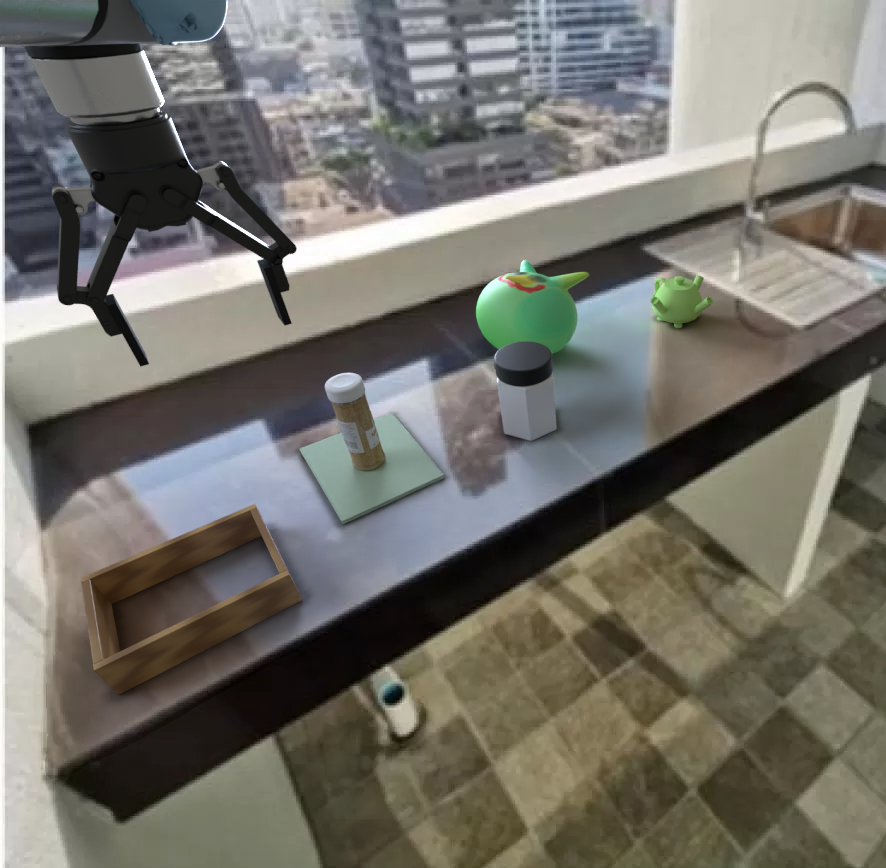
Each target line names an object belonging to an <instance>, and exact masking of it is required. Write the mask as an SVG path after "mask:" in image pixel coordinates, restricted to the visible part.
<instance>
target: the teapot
mask: <svg viewBox="0 0 886 868" xmlns="http://www.w3.org/2000/svg"><path fill="white" fill-rule="evenodd" d="M704 279H705V278H704V277H703V276H701V275H699V274H696V276H695V278H694V280H693V281H692V280H691V279H689V278H686V277H685V276H682V275H677V276H674V277H671V278H668V279H666V278H665V277H658V278H656V279H655V281H654V284H653V285H654V293H653V294H652V295H651V296H652V298H651V299H650V303H651V307H652V311H653V313H654V314H655V315H656V316H657V317H656V320H658V321H660V322H663V321H664V322H667V323H671V324H673V327H674V328H676V329H680V328H683V325H684V324H686V323H687V324H688V323H690V322H692V321H695V320H696V319H697V318H698V317H699V316H700V315H701V314H702V312H703V311H704V310H706V309H708V308H709V307H710V306H712V305H713V304H714V299H713V298H712V297H710V296H707V297H705V298H704V299H703V298H702V295H701V293H700V289H701V286H702V285H703V281H704ZM660 282H661V283H662V284H661V285H660Z"/></svg>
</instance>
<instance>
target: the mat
mask: <svg viewBox="0 0 886 868" xmlns="http://www.w3.org/2000/svg"><path fill="white" fill-rule="evenodd" d="M373 420H374V423H375V426H376V429H377V432H378V435H379V438H380V443H381V446H382V449H383V451H384V453H385V460H384V462H383V463H382V464H381V465H380V466H379V467H377V468H375V469H372V470H367V471H363V470H358V469H356V468H355V467H354V466H353V464H352V458H351V455H350V453H349V450H348V448H347V446H346V443H345V441H344V438H343V435H342V433H341V432H338V433H336V434H333V435H331V436H328V437H326V438H323V439H321V440H320V439H319V440H318V441H315V442H313V443H310V444H308V445H305V446H302V447H300V448H299V451H300V454H301V456H302V457H303V459H304V460H305V462H306V464H307V465H308V467H309V469H310V470H311V473H312V475H313V476H314V477H315V479H316V481H317V483H318V484H319V486H320V488H321V490H322V491H323V493H324V495H325V496H326V498H327V500H328V502H329V504H330V505H331V507H332V508H333V510H334V513H336V516H337V517H338V518H339V520H340V522H341V524H342V525H345V524H347V523H349V522H352V521H354V520H356V519H358V518H361V517H363V516H365V515H367V514H369V513H371V512H373V511H376V510H378V509H380V508H382V507H384V506H386V505H389V504H391V503H394V502H395V501H398V500H400V499H402V498H404V497H406V496H408V495H411V494H412V493H415V492H417V491H420V490H422V489H424V488H425V487H428V486H431V485H432V484H435V483H436V482H439V481H441V480H443V479H445V474H444V473H443V472H442V471H441V469H440V468H439V467H438V466H437V465H436V463H435V462H434V461H433V460H432V458H431V457H430V456H429V455H428V454H427V453H426V451H425V449H423V448H422V447H421V446H420V444H419V443H418V442H417V441H416V439H415V438H414V437H413V436H412V435H411V434H410V431H408V429H407V428H406V427H405V426H404V425H403V424H402V423H401V421H400V420H399V419H398V418H397V417H396V415H395V414H394V413H393V412H390V413H388V414H385V415H383V416H380V417H377V418H375V419H373Z"/></svg>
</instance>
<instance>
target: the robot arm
mask: <svg viewBox="0 0 886 868" xmlns="http://www.w3.org/2000/svg"><path fill="white" fill-rule="evenodd" d="M227 12H228V0H0V48H15V47H17V48H19V47H24V49H25V52H26V53H27V55H28V57H29V60H30V61H31V63H32V65H33V67H34V69H35V71H36V73H37V75H38V77H39V79H40V81H41V84H42V85H43V87H44V89H45V91H46V93H47V95H48V97H49V99H50V100H51V103H52V105H53V107H54V109H55V111H56V112H57V113H58V114H59V115H61V116H63V117H67V118H69V119H70V120H68V121H67V122H66V126H65V131H66V132H67V134H68V136H69V138H70V141H71V142H72V145H73V146H74V149H75V150H76V152H77V154H78V156H79V159H80V160H81V162H82V164H83V166H84V168H85V170H86V172H87V174H88V176H89V180H90V185H89V186H83V187H67V186H66V185H62V184H55V185H53V186H52V187H51V196H52V200H53V203H54V205H55V208H56V210H57V212H58V215H59V230H58V231H59V232H58V255H57V275H56V276H57V278H56V293H57V298H58V299H57V300H58V302H59V303H60V304H61V305H63V306H73V305H84V306H87V307H89V308H90V309H91V310H92V312H93V314H94V315H95V317H96V319H97V321H98V322H99V323H100V325H101V328H102V330H103V331H104V333H105V334H106V335H108V336H109V337H115V336H120V335H122V336H123V339H124V340H125V343H127V345H128V347H129V349H130V351H131V353H132V355H133V357H134V358H135V360H136V361H137V363H138V365H139V367H140V368H141V367H144V366H148V365H150V362H149V360H148V357H147V354H146V352H145V349H144V348H143V346H142V344H141V343H140V340H139V339H138V337H137V335H136V333H135V331H134V330H133V327H132V326H131V324H130V322H129V320H128V318H127V316H126V315H125V313H124V311H123V309H122V307H121V305H120V304H119V302H118V299H117V298H116V297H115V295H114V293H110V294H108V293H109V291H110V288H111V286H112V284H113V282H114V279H115V277H116V273H117V271H118V270H119V267H120V265H121V262H122V260H123V257H124V255H125V253H126V250H127V248H128V246H129V243H130V242H131V241H132V239H133V237H134V235H135V232H136V230H137V229H139V230H142V231H148V233H151V232H155V231H160V230H162V229H164V228H165V227H181V226H182V227H183V226H186V225H188V223H189V222H190V221H191V220H192V219H193V218H195V219H196V220H198V221H199V222H200V223H203V224H205V225H206V226H208V227H210V228H212V229H214V230H215V231H217V232H219V233H221V234H222V235H224V236H225V237H227V238H229V240H232V241H234V242H235V243H236V244H238V245H240V246H242V247H244V248H245V249H247V250H249V252H252V253H253V254H255V255H257V256H258V257H260V258H261V259H257V260H256V262H257V264H258V267H259V271H260V273H261V275H262V278H263V280H264V284H265V286H266V288H267V291H268V294H269V297H270V299H271V301H272V305H273V308H274V310H275V313H276V316H277V318H278V319H279V320H280V322H281V323H282V324H283V325H284V326H289V325H293V323H292V320H291V318H290V314H289V311H288V309H287V306H286V303H285V301H284V297H283V295H282V293H285V292H288V291H289V292H290V283H289V280H288V277H287V274H286V271H285V268H284V265H283V263H284V258H285V257H287V256H288V255H293V254H295V253H296V252H297V249H298V248H297V246H296V244H295V243H294V242H293V241H292V239H290V238H289V237H288V236H287V234H286V233H285V232H283V230H282V229H281V228H280V227H279V226H278V225H276V223H275V222H274V221H273V220H272V219H271V218H270V217H269V216H268V215H267V214H266V212H264V211H263V210H262V209H261V208H260V207H259V205H258V204H256V202H254V201H253V199H252V198H250V196H249V195H248V194H247V193H246V192H245V191H244V190H243V189H242V187H241V186H240V184H239V182H238V179H237V178H236V176H235V173H234V172H233V170H232V168H231V167H230V166H228V165H227V163H225V162H224V161H222V160H215V161H214V162H212V165H210V166H207V167H203V168H199V169H195V168H194V167H193V166H192V165H191V164H190V162H189V161H190V160H189V159H188V157H187V155H186V152H185V150H184V147H183V145H182V142H181V140H180V137H179V135H178V132H177V130H176V127H175V124H174V122H173V119H172V117H171V115H169V114H167V113H166V112H165V111H163V110H161V109H160V108H161V107H162V106H163V105H164V104H165V99H164V96H163V95H162V92H161V89H160V87H159V84H158V82H157V80H156V78H155V75H154V72H153V70H152V68H151V65H150V63H149V60H148V58H147V56H146V53H145V51H144V49H143V47H142V45H143V44H145V45H146V44H147V45H148V44H149V45H152V44H153V45H162V46H177V45H178V44H182V43H185V44H186V43H202V42H206V41H210V40H212V39H213V38H214V37H216V36H217V35H218V33H219V32H220V31H221V30H222V28H223V26H224V24H225V21H226V18H227V14H228V13H227ZM204 184H209V185H211V186H212V187H214V189H215V190H217V191H218V192H223V191H225V192H226V193H227V194H228V195H229V196H230V197H231V198H232V199H233V201H234V202H235V203H236V204H237V205H238V206H239V207H240V208H241V209H242V210H244V212H245V213H246V214H247V215H249V217H250V218H251V219H252V220H253V221H254V222H255V223H256V224H257V225H258V226H259V227H261V229H262V230H263V231H264V232H265V233H266V234H267V235H268V236H269V237H270V238H271V239H273V241H274V242H273V243H272V244H270V245H269V244H267V243H266V242H264V241H263V240H261V239H260V238H258V237H256V236H255V235H253V234H252V233H250V232H249V231H248V230H245V229H244V228H242V227H240V226H239V225H237V224H236V223H235V222H232V221H231V220H229V219H228V218H227V217H225V216H223V215H222V214H220V213H218V212H217V211H215V210H214V209H212V208H211V207H210V206H208V205H207V204H205V203H203V202H202V201H201V200H200V197H201V194H202V191H203V189H204ZM93 202H95V203H97V205H99V206H101V207H103V208H104V209H105V210H107V211H108V212H110V213H112V214H114V215H113V217H112V220H111V221H110V225H109V229H108V232H107V234H106V237H105V239H104V242H103V243H102V246H101V249H100V251H99V254H98V256H97V258H96V260H95V263H94V265H93V268H92V270H91V272H90V276H89V278H88V280H87V282H86V285H84V286H83V285H78V278H79V277H78V273H79V257H80V238H81V222H80V217H81V216H85V215H87V214H88V211H89V204H91V203H93Z"/></svg>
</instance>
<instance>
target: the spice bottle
mask: <svg viewBox="0 0 886 868" xmlns="http://www.w3.org/2000/svg"><path fill="white" fill-rule="evenodd" d="M324 390H325V394H326V396H327V399H328V400H329V402H330V403H331V405H332V409H333V411H334V414H335V418H336V421H337V424H338V426H339V427H338V428H339V430H340V433H342V435H343V438H344V441H345V443H346V446H347V448H348V450H349V453H350V455H351V458H352V464H353V466H354V467H355V468H356V469H358V470H363V471H367V470H372V469H375V468H377V467H379V466H380V465H381V464H382V463H383V462H384V460H385V453H384V451H383V449H382V446H381V443H380V438H379V435H378V432H377V429H376V426H375V423H374V420H375V419H374V416H373V414H372V411H371V409H370V405H369V402H368V399H367V395H366V387H365V384H364V381H363V378H362V376H361V375H360V374H357V373H355V372H342V373H339V374H335V375H334V376H331V377H330V378H329V379H327V380H326V382H325V384H324Z"/></svg>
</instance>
